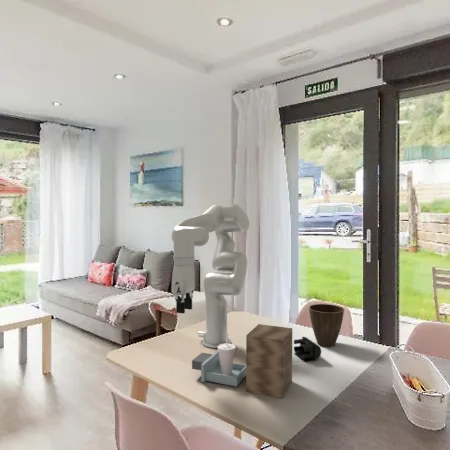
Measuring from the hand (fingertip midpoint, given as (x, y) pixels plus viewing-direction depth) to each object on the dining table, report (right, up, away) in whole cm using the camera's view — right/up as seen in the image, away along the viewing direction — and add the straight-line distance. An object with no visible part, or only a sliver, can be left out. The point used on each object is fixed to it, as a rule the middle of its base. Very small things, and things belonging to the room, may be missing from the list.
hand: (184, 310), depth 138 cm
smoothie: (+15, -21, -5) cm, 27 cm away
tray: (+13, -22, -4) cm, 26 cm away
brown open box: (+30, -23, -12) cm, 39 cm away
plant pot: (+60, -21, +28) cm, 69 cm away
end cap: (+48, -22, +13) cm, 55 cm away
